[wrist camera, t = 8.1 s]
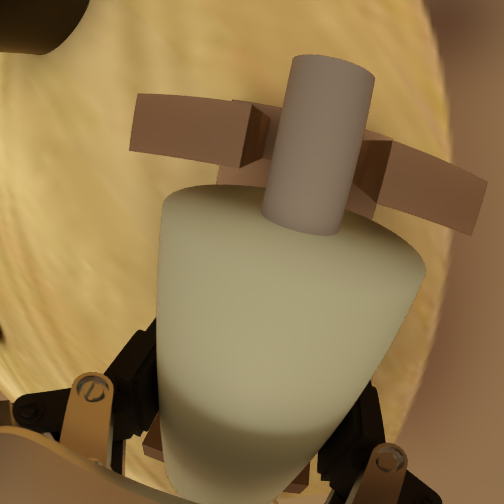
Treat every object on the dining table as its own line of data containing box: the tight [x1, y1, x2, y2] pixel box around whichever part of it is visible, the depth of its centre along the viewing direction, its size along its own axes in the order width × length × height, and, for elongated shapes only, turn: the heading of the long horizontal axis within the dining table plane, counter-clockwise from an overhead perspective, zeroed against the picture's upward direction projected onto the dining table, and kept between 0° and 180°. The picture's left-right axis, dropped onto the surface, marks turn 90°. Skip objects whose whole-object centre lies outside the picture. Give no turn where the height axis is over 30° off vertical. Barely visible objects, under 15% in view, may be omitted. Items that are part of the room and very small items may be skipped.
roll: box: [156, 55, 426, 504], centre depth 9 cm, size 19×6×6 cm, turn 169°
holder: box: [129, 94, 488, 494], centre depth 14 cm, size 19×9×11 cm, turn 169°
